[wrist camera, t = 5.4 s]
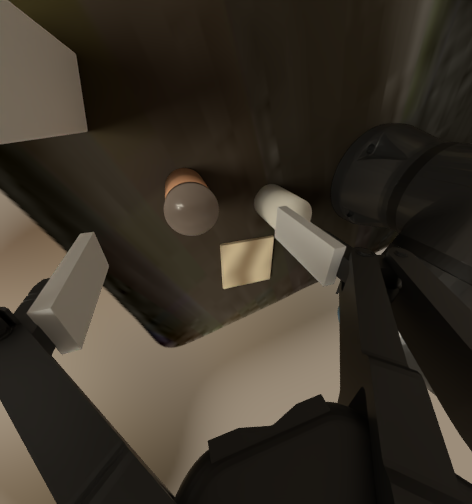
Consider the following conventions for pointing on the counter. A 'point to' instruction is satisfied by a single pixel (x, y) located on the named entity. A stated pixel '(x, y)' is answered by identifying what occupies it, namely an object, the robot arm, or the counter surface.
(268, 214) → the white rounded cylinder
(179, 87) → the counter surface
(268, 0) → the counter surface
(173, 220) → the jar
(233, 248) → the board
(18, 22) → the milk
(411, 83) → the counter surface
